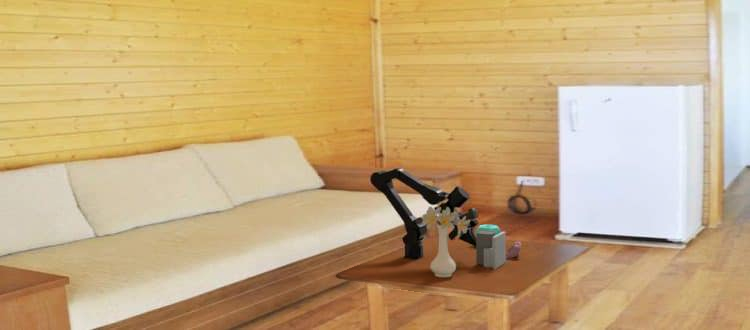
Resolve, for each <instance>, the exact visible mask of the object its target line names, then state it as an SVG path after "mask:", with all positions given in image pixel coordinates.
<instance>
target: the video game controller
mask: <svg viewBox="0 0 750 330" xmlns="http://www.w3.org/2000/svg"><path fill="white" fill-rule="evenodd" d="M522 245H523V244H522V242H520V241H515V242H514V243H513V244H512V246H510V247H509V248H507V249H506V259H512V258H516V257H517V256H518V255H519V254H520V253H522Z"/></svg>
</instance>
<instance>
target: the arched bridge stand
mask: <svg viewBox="0 0 750 330" xmlns="http://www.w3.org/2000/svg"><path fill="white" fill-rule="evenodd" d="M506 233H507V232H506V231H501V233H499V234H497V235H495V236H494V237H492V248H484V265H483V267H484V268H491V267H492V270H496V269H498V268H499V267H502V265H504V264H505V263H506V262H507V260H506V259H507V257H506V255H507V247H506V246H507V245H506V244H507V242H506V241H507V236H506V235H507V234H506Z"/></svg>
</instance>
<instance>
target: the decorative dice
mask: <svg viewBox="0 0 750 330" xmlns="http://www.w3.org/2000/svg"><path fill="white" fill-rule="evenodd" d="M480 231H488V232H495V235H497V234H499V233H501V232H502V231H501V229H500V227H499V226H498V225H495V224H481V225H479V226H478V227H477V229H476V230H475V232H474V234H475V237H476V233H478V232H480Z"/></svg>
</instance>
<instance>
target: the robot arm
mask: <svg viewBox="0 0 750 330" xmlns="http://www.w3.org/2000/svg"><path fill="white" fill-rule="evenodd" d="M393 180H398V181H399V182H400V183H403V185H406V186H407V187H409V188H411V189H412V190H413V191H415V192H416V193H418V194H419V195H420V196H421V197H422V199H424V201H426V202H427V203H428V204H429V205H430V206H434V207H433V209H434V210H436V209H437V208H439V207H441V211H440V212H439V213H441V214H442V211H443V210H445V211H446V208H447V207H449V209H450V214H451V213H453V212H454V208H455V211H457V213H458V217H459V219H460V220H462V219H463V217H464V216H466V219H465V221H466V220H470V223H469V224H468V225H463V226H465V227H466V229H467V232H466V233H463V232H462V230H461V234H460V235H459V236H458V227H457V226H458V225H455V224H453V223H452V224H453V225H454V229H452V230H451V231H450V232H449V233H448V238H449V240H450V241H451V242H452V241H455V239H456V238H457V237H458V240H461V241H463V242H465V243H467V244H469V245H471V246H474V247H475V248H476V237H475V229H476V226H478V225H479V224H480V223H479V221H478V219H477V218H479V214H478V213H479V211H478V210H477V208H474V207H471V208H469V209H468V212H465V213H463V212H462V211H460V212H459V211H458V210H457V208H458V209H460V208H462V206H463V205H464V204H466V202H468V201H469V200H470V198H471V196H470V194H469V192H468V191H467V190H465V189H464V188H462V187H460V186H459V185H456V186H455V187H454V189H452V191H451V192H450V193H449V192H446V191H444V190H443V189H442V188H439V187H438V186H437V187H436V186H434V185H431V184H427V183H425V182H424V181H422V180H420V179H419V178H417V177H416V176H414V175H412V174H410V172H408V171H406V170H405V169H403V168H402V167H396V168H393V169H392V170H387V171H386V170H378V171H375V172H372V174H371V176H370V179H369V181H370V184H371V185H372V186H373V187H374V188H375V189H376V190H377V191H379V192H380V193H382V194H383V195H384V196H385V197H386V199H387V201H388V202H389V204H390V205H391V206H392V207H393V209H394V210H395V212H396V213H397V215H398V216H399V217H400V219H401V221H403V225H404V228H405V232H406V234H405V235H404V236H403V237H402V238H401V239H402V242H403V244H404V256H402V258H403V259H414V260H416V259H417V260H419V259H421V258H422V257H424V245H423V242H422V241H423V240H424V238H425V237H426V235H427V234H428V229H427V225H428V223H427V224H423V223H422V221H423V220H424V218H423V217H421V216H419V217H416V216H415V215H414V214H413V212H412V211H411V209H409V207H408V206H407V204H406V203H405V201H404V200H403V198H402V197H401V196H400V195H399V193H398V192H397V190H396V188H395V187H394V184H393ZM445 201H446V202H445ZM435 205H438V206H435Z"/></svg>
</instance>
